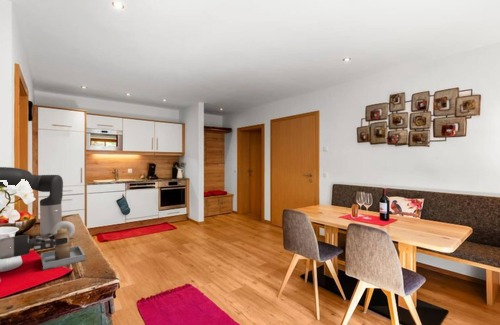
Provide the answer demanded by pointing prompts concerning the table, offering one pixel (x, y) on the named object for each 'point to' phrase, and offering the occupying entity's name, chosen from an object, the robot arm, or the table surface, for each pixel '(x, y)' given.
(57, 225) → the donut
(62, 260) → the tray
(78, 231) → the table surface
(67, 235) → the pepper mill
